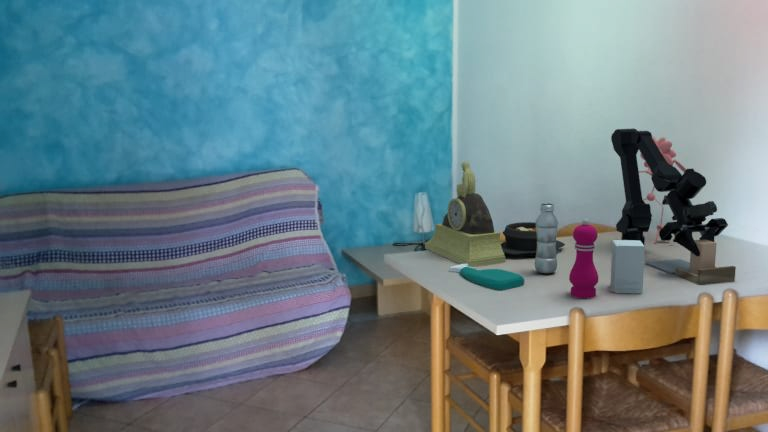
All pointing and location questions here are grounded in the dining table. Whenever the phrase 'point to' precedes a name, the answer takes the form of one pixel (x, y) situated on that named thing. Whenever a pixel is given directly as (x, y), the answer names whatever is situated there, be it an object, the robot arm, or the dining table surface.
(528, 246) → the casserole
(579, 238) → the pepper mill
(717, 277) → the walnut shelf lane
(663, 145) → the pink artificial flower
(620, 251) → the supplement box
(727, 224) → the robot arm
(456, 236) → the decorative clock
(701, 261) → the peach block
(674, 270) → the slate rubber mat
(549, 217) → the plastic bottle
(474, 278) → the spray bottle
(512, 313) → the dining table surface
